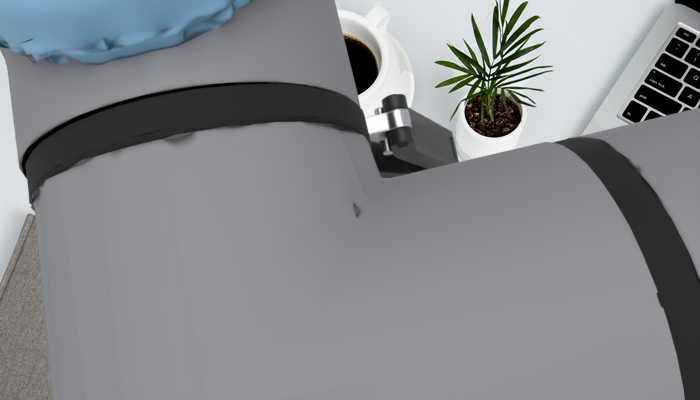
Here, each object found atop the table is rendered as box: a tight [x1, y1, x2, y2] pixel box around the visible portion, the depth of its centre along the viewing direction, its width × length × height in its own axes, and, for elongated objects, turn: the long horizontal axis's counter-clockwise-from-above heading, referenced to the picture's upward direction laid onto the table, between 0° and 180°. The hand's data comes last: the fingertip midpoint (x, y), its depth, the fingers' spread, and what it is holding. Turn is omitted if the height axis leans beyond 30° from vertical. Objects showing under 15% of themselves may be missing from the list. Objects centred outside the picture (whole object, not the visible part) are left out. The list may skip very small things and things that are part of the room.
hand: (308, 204), depth 45 cm, fingers open, 13 cm apart
